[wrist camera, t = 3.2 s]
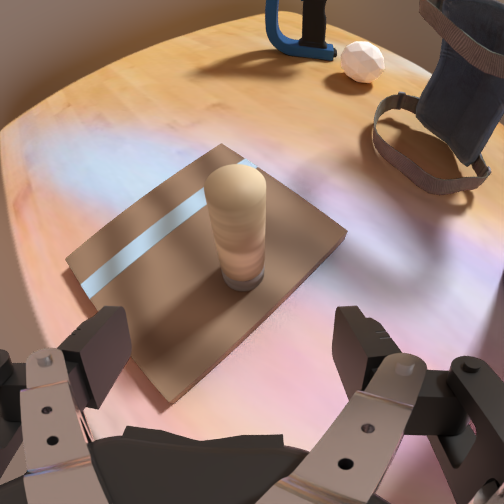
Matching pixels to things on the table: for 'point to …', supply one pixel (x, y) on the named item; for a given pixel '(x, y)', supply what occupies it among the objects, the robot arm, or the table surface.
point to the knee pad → (456, 90)
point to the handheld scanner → (311, 31)
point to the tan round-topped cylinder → (238, 223)
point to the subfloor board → (196, 272)
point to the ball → (362, 62)
